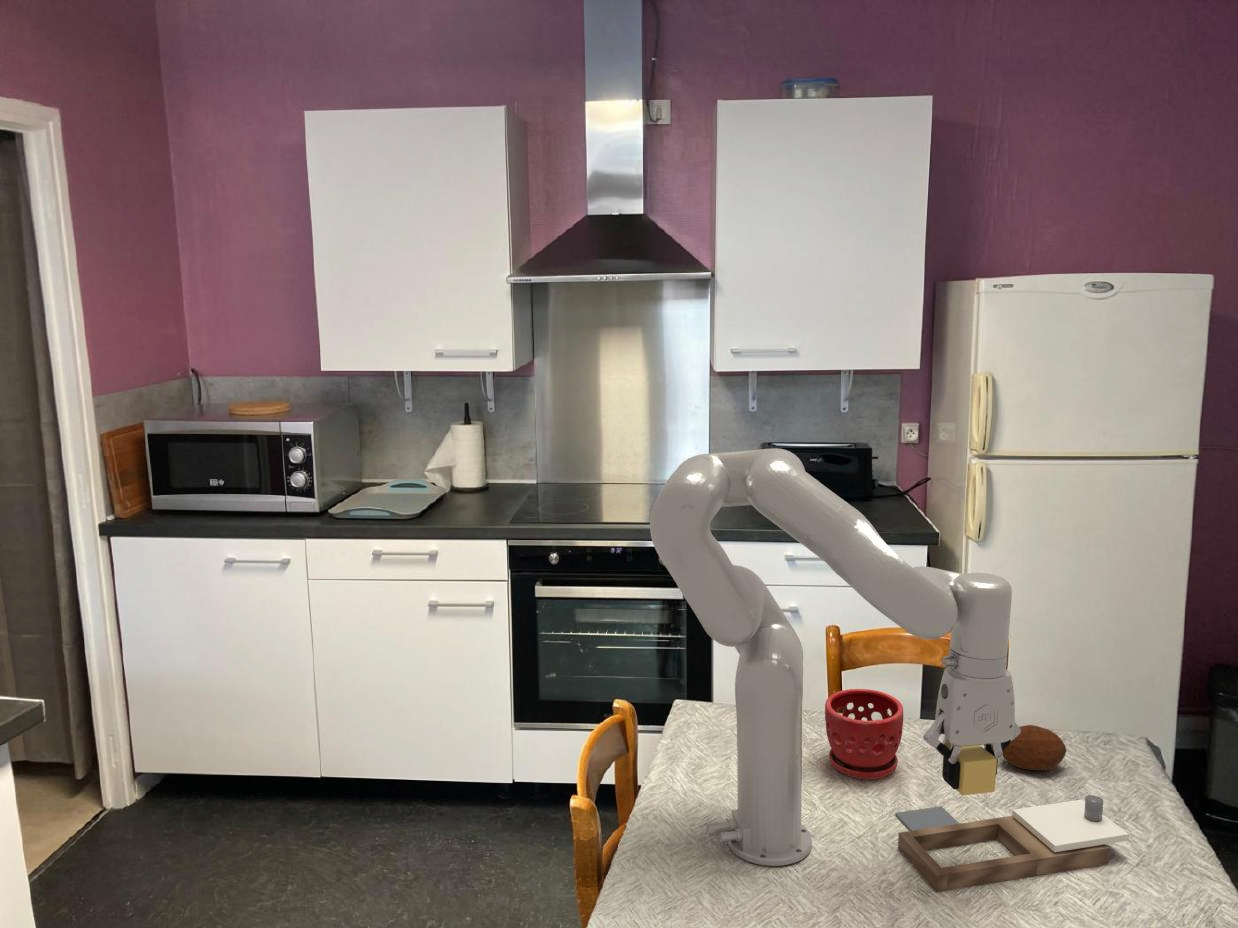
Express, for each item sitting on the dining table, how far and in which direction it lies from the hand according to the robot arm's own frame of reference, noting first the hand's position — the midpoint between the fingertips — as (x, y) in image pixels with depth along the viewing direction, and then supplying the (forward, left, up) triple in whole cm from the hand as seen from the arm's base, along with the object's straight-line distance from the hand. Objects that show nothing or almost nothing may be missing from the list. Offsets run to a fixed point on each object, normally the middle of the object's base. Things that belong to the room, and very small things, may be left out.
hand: (968, 781), depth 139 cm
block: (0, 0, -1) cm, 1 cm away
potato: (+26, +22, -13) cm, 37 cm away
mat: (0, +10, -12) cm, 16 cm away
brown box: (+6, 0, -12) cm, 14 cm away
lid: (+17, 0, -10) cm, 19 cm away
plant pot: (-2, +29, -13) cm, 32 cm away
